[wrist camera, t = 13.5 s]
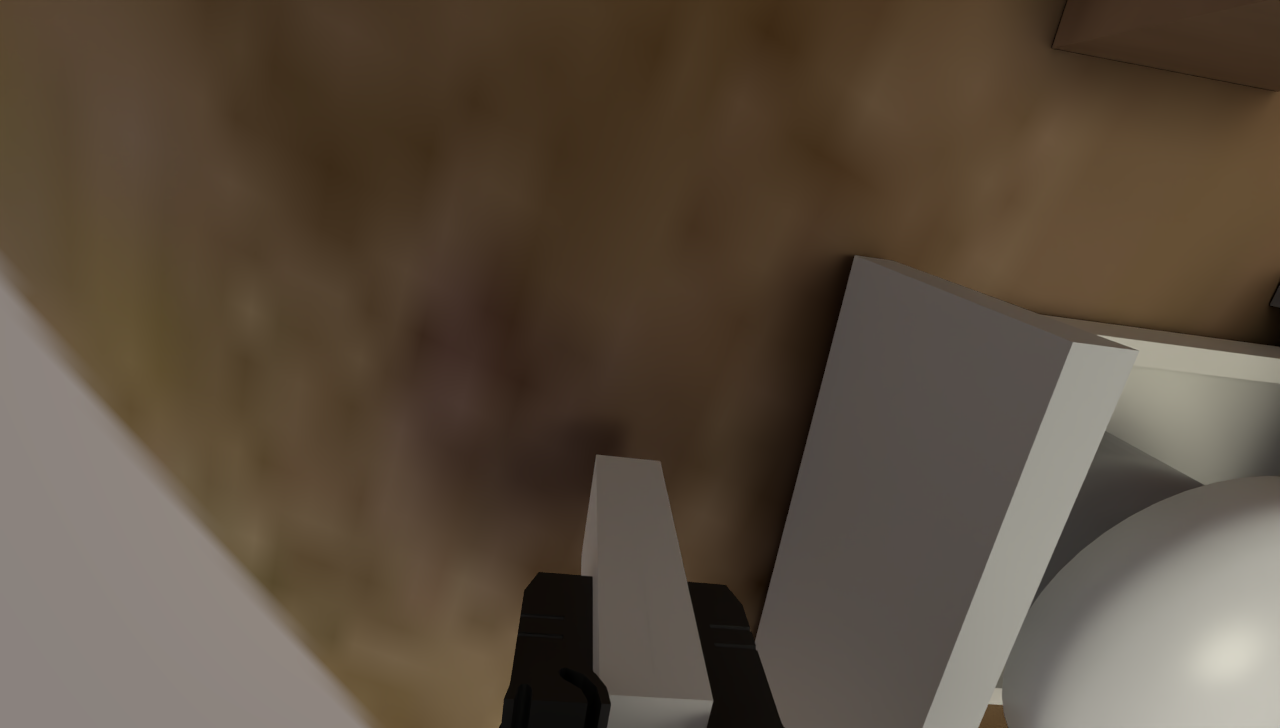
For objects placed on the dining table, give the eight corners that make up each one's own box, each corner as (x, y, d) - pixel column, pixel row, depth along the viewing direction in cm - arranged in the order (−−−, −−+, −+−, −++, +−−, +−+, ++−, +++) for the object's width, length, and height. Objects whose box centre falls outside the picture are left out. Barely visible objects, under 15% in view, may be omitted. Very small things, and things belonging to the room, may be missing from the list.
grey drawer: (854, 255, 15) (1073, 342, 8) (1391, 331, 17) (1933, 453, 10) (750, 658, 19) (838, 942, 12) (1192, 684, 21) (1484, 943, 14)
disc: (1097, 451, 11) (1181, 501, 9) (1475, 501, 12) (1607, 553, 10) (948, 783, 13) (994, 865, 12) (1268, 801, 14) (1350, 879, 13)
